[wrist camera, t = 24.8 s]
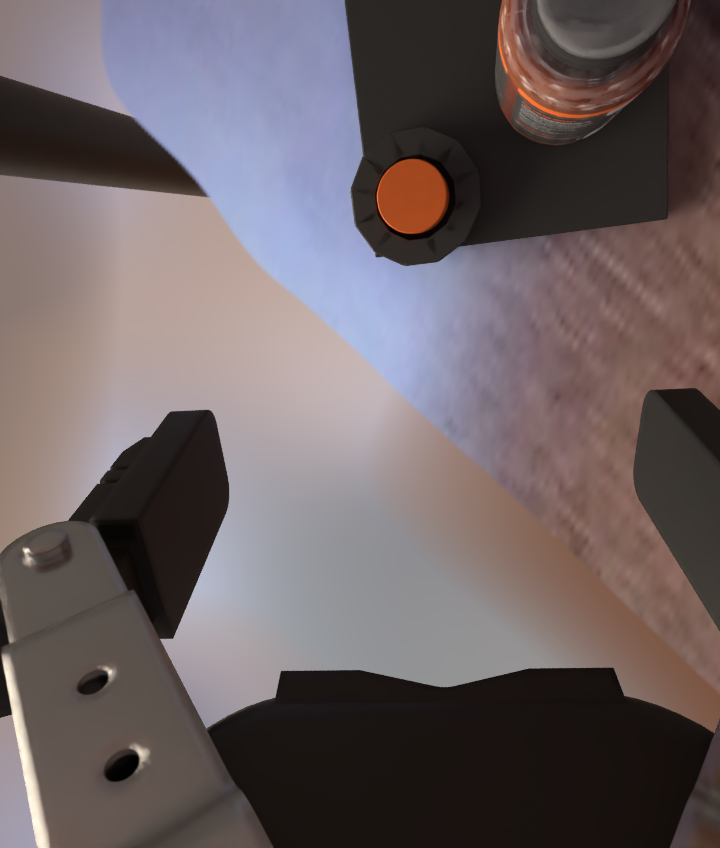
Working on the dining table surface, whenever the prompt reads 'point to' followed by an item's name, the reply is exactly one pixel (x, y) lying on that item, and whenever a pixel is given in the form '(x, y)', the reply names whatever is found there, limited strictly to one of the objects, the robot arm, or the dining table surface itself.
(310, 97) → the dining table surface
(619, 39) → the supplement bottle
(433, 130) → the kitchen scale
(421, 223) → the button
